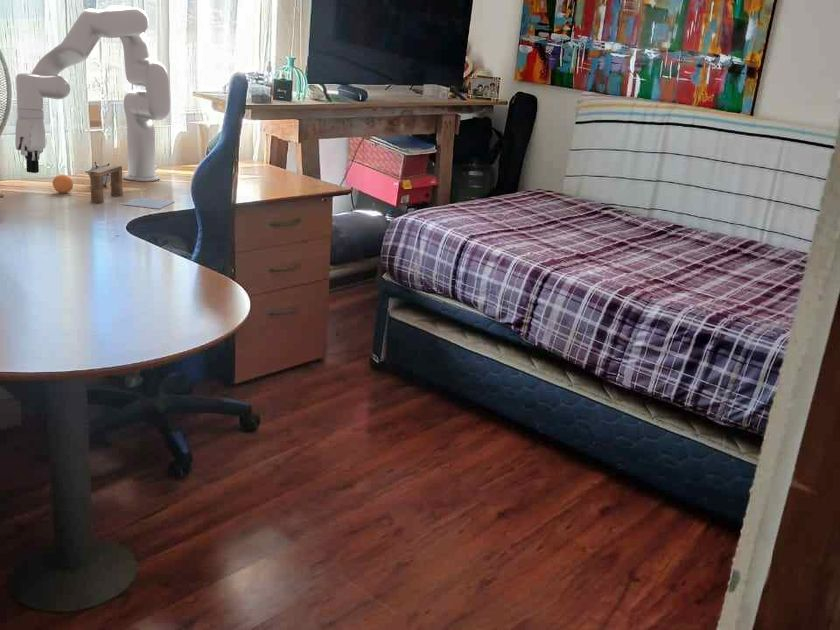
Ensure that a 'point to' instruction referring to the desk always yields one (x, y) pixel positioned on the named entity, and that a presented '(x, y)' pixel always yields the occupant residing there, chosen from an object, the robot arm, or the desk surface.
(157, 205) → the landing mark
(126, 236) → the desk surface
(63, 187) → the ball
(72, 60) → the robot arm
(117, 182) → the bridge
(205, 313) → the desk surface
